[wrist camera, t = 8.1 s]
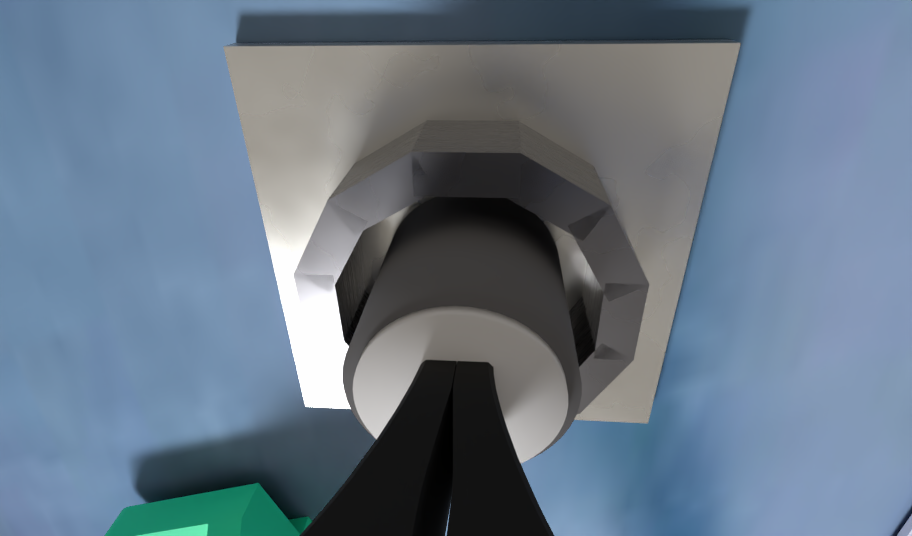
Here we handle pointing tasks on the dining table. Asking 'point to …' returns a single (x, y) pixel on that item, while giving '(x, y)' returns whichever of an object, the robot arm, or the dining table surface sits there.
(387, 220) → the white square plate
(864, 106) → the dining table surface
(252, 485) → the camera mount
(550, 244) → the gray cylindrical peg
